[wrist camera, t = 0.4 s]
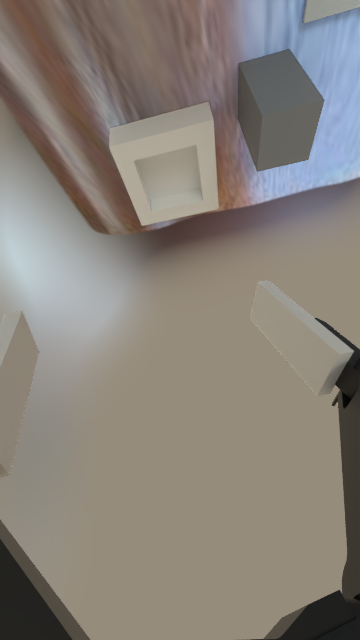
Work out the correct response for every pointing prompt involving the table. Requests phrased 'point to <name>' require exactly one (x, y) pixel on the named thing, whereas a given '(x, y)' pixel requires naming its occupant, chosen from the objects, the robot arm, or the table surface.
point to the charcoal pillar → (277, 109)
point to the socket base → (168, 163)
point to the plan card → (326, 8)
